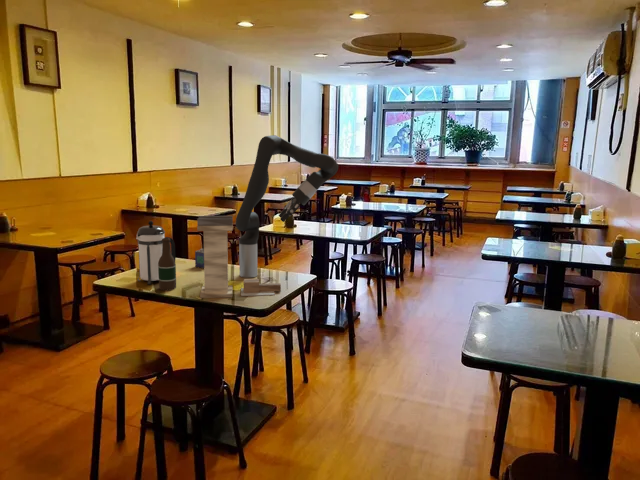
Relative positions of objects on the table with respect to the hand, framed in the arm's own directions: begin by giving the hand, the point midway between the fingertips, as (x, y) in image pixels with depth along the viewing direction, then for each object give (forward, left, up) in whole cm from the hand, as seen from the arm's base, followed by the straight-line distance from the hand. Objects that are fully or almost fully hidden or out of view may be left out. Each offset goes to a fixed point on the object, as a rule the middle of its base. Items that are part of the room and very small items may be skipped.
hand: (280, 218), depth 225 cm
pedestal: (+1, -29, -34) cm, 45 cm away
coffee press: (-24, -60, -34) cm, 74 cm away
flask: (-49, -39, -34) cm, 72 cm away
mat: (+1, -11, -34) cm, 36 cm away
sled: (0, -9, -34) cm, 35 cm away
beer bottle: (-9, -52, -34) cm, 63 cm away
